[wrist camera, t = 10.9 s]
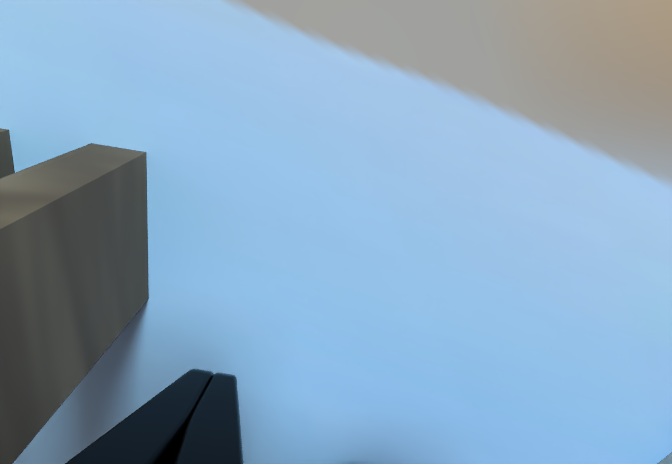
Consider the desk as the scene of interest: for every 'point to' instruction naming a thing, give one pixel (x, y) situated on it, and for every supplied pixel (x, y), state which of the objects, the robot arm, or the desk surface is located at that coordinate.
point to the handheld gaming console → (666, 460)
